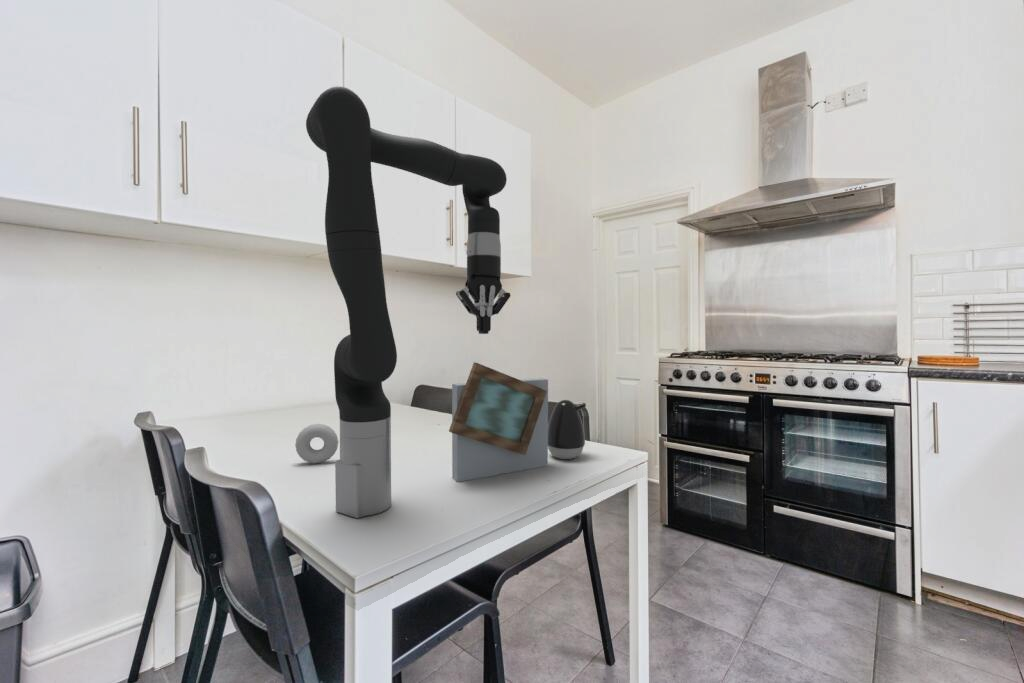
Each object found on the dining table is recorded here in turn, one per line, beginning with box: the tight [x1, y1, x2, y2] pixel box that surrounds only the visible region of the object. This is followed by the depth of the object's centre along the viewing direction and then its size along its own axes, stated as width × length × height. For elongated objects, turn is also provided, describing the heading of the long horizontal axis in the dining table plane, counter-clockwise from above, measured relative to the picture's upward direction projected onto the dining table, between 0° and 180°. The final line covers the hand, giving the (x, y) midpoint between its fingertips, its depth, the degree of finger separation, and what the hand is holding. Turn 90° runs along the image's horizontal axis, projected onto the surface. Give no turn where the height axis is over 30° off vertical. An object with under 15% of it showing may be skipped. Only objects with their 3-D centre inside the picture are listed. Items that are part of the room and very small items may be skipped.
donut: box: [295, 423, 339, 464], centre depth 111 cm, size 10×4×10 cm, turn 104°
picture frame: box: [448, 362, 547, 455], centre depth 101 cm, size 20×2×16 cm, turn 120°
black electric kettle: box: [548, 399, 587, 460], centre depth 117 cm, size 10×10×15 cm
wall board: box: [451, 377, 549, 482], centre depth 105 cm, size 24×3×22 cm, turn 119°
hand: (483, 333), depth 99 cm, fingers closed
